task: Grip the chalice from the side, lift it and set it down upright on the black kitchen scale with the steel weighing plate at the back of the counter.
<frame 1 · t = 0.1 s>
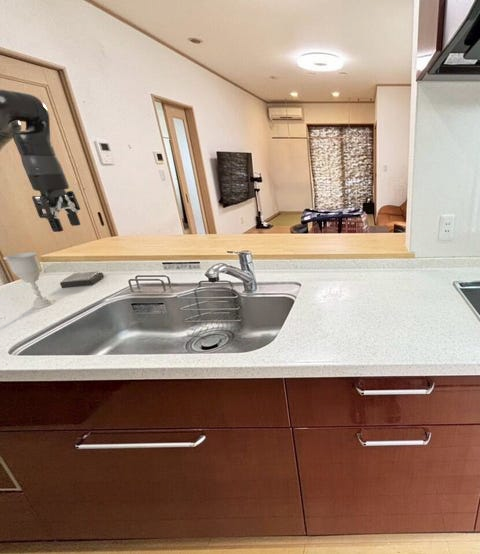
hand: (67, 228, 91), 27 cm above the worktop, tool pointing down, fingers open, 8 cm apart
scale: (83, 282, 121), on the worktop
chalice: (43, 305, 102), on the worktop
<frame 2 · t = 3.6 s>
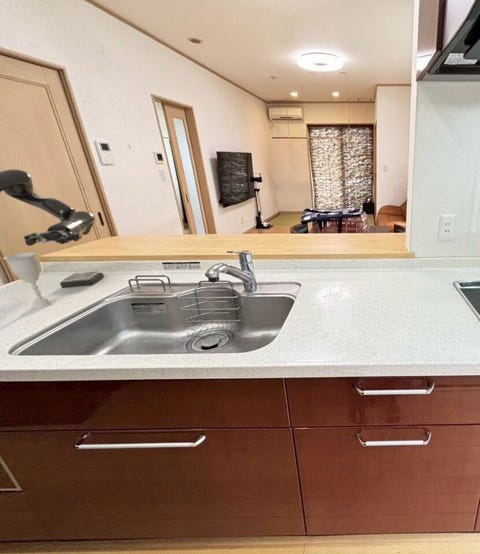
hand: (44, 242, 105), 20 cm above the worktop, tool horizontal, fingers open, 8 cm apart
nothing on the worktop moved.
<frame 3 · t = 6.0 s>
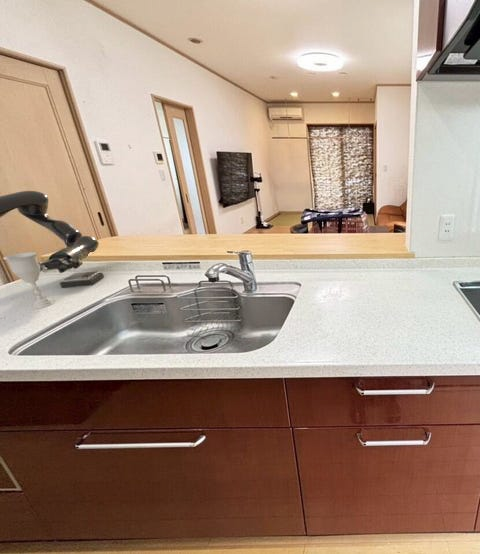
hand: (44, 271, 105), 10 cm above the worktop, tool horizontal, fingers open, 8 cm apart
nothing on the worktop moved.
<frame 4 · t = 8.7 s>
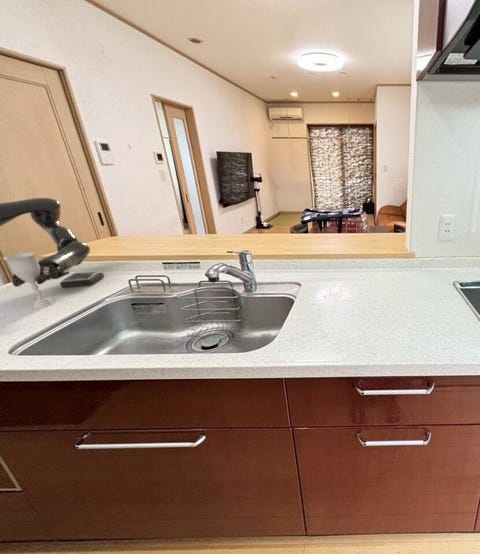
hand: (26, 282, 97), 10 cm above the worktop, tool horizontal, fingers closed on chalice, 5 cm apart
chalice: (43, 305, 102), on the worktop, touching gripper
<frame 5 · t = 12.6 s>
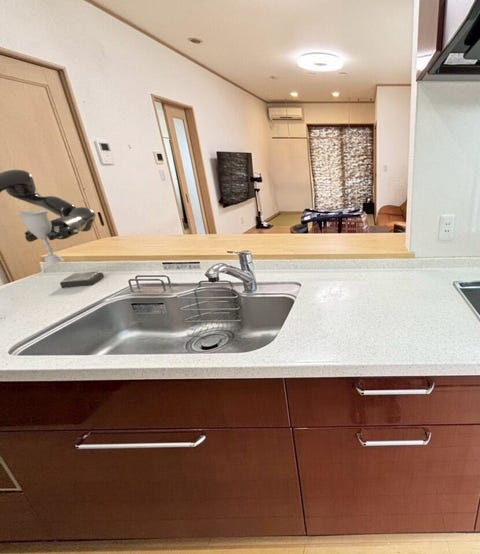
hand: (39, 238, 102), 22 cm above the worktop, tool horizontal, fingers closed on chalice, 5 cm apart
chalice: (54, 262, 108), point 12 cm above the worktop, touching gripper
when the fingers open (13 cm above the worktop, at t = 16.8 s): chalice stays where it is, resting on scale.
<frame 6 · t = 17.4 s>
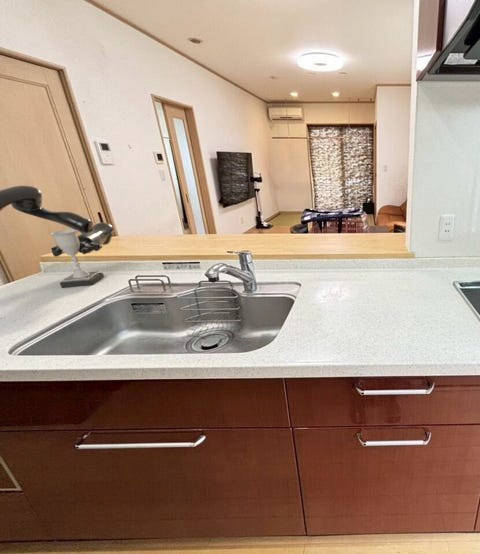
hand: (69, 252, 114), 13 cm above the worktop, tool horizontal, fingers open, 8 cm apart
chalice: (81, 275, 120), point 3 cm above the worktop, touching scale
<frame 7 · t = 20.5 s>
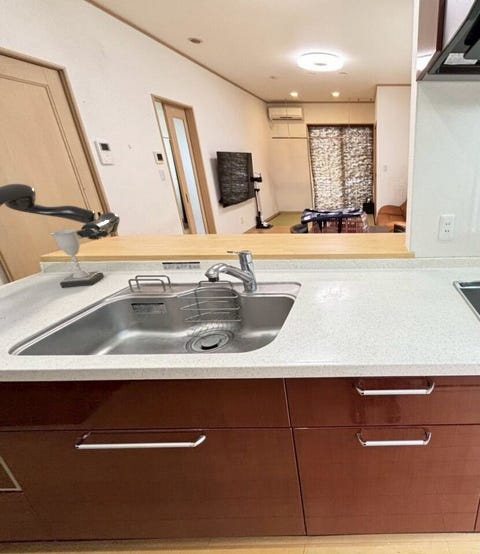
hand: (79, 237, 123), 16 cm above the worktop, tool horizontal, fingers open, 8 cm apart
nothing on the worktop moved.
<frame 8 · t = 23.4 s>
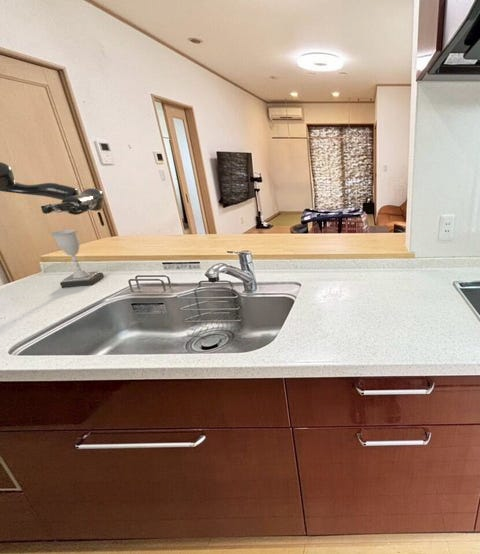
hand: (58, 210, 116), 28 cm above the worktop, tool horizontal, fingers open, 8 cm apart
nothing on the worktop moved.
at the end: chalice inside the target area on the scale (0.2 cm from its centre), point 2.8 cm above the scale's base; chalice tilted 0°; the gripper is holding nothing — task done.
